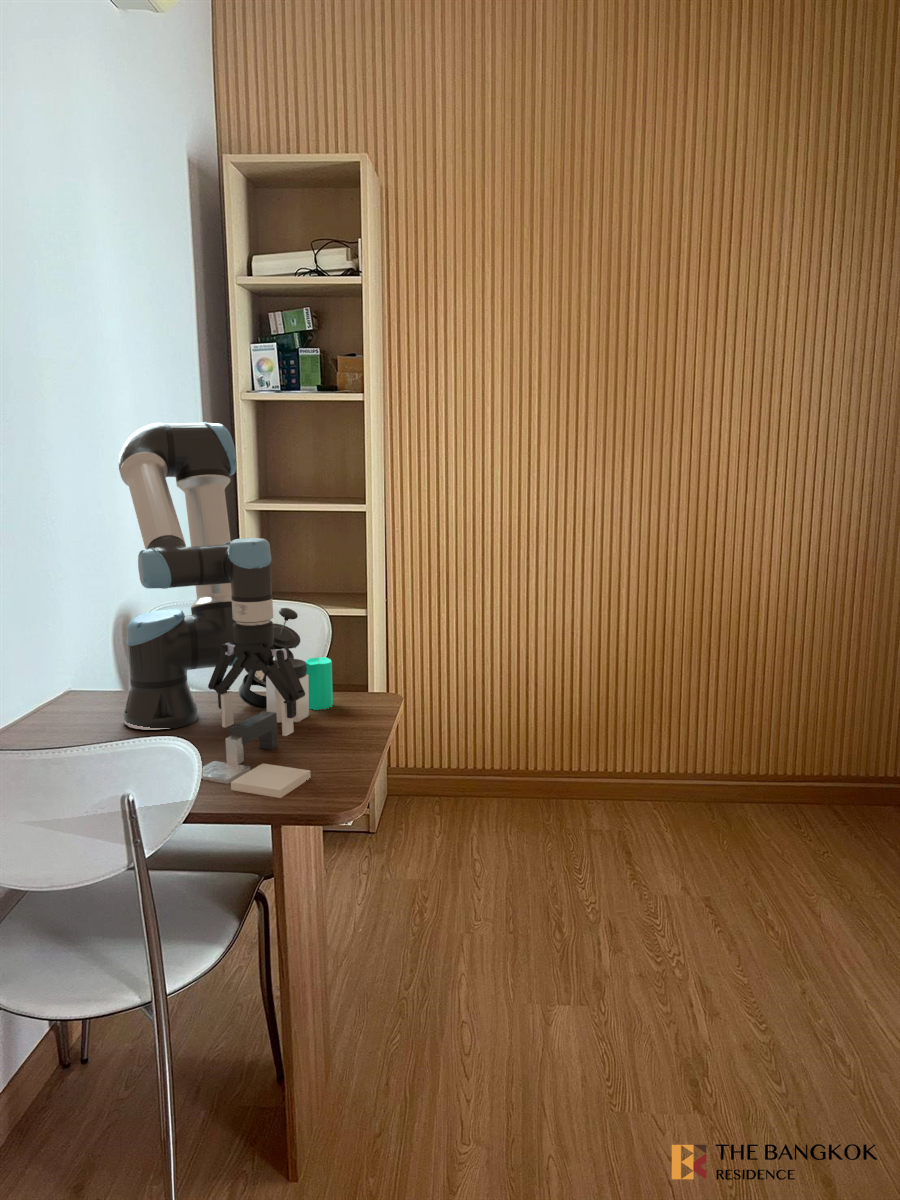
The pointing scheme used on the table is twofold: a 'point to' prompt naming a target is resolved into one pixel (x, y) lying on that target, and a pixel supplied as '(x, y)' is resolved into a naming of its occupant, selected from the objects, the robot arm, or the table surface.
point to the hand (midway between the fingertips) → (257, 729)
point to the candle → (320, 683)
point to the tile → (270, 780)
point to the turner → (241, 735)
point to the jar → (275, 698)
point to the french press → (282, 639)
